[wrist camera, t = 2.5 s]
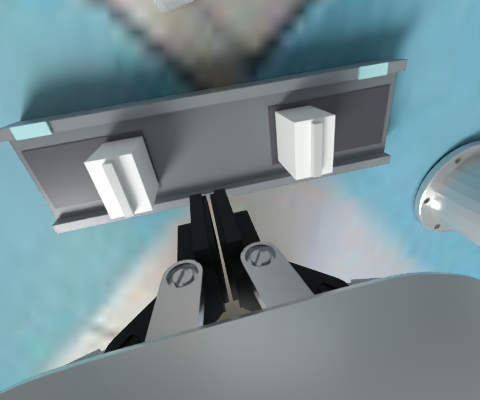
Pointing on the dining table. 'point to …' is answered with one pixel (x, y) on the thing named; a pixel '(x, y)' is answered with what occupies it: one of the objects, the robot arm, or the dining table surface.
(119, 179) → the tab
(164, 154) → the switch board
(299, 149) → the tab
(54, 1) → the dining table surface
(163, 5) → the skincare box
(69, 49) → the dining table surface
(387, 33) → the dining table surface
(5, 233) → the dining table surface
